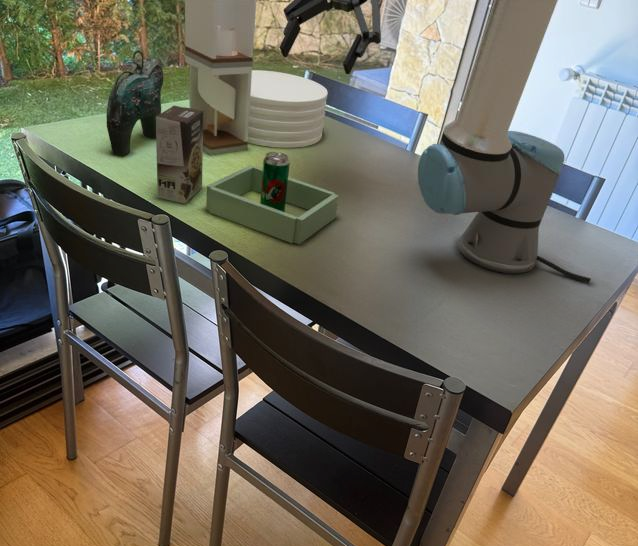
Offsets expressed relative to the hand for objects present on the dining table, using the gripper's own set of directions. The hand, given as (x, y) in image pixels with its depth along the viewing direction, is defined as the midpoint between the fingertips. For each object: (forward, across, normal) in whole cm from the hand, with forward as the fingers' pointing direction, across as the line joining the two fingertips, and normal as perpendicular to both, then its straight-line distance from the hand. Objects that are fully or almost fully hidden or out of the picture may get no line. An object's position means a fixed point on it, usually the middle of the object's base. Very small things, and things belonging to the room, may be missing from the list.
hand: (313, 60), depth 113 cm
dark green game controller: (+20, +43, -19) cm, 51 cm away
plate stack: (-5, +28, -44) cm, 52 cm away
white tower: (+10, +31, -29) cm, 44 cm away
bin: (+27, 0, -12) cm, 29 cm away
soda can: (+27, 0, -12) cm, 30 cm away
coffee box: (+31, +19, -8) cm, 37 cm away
